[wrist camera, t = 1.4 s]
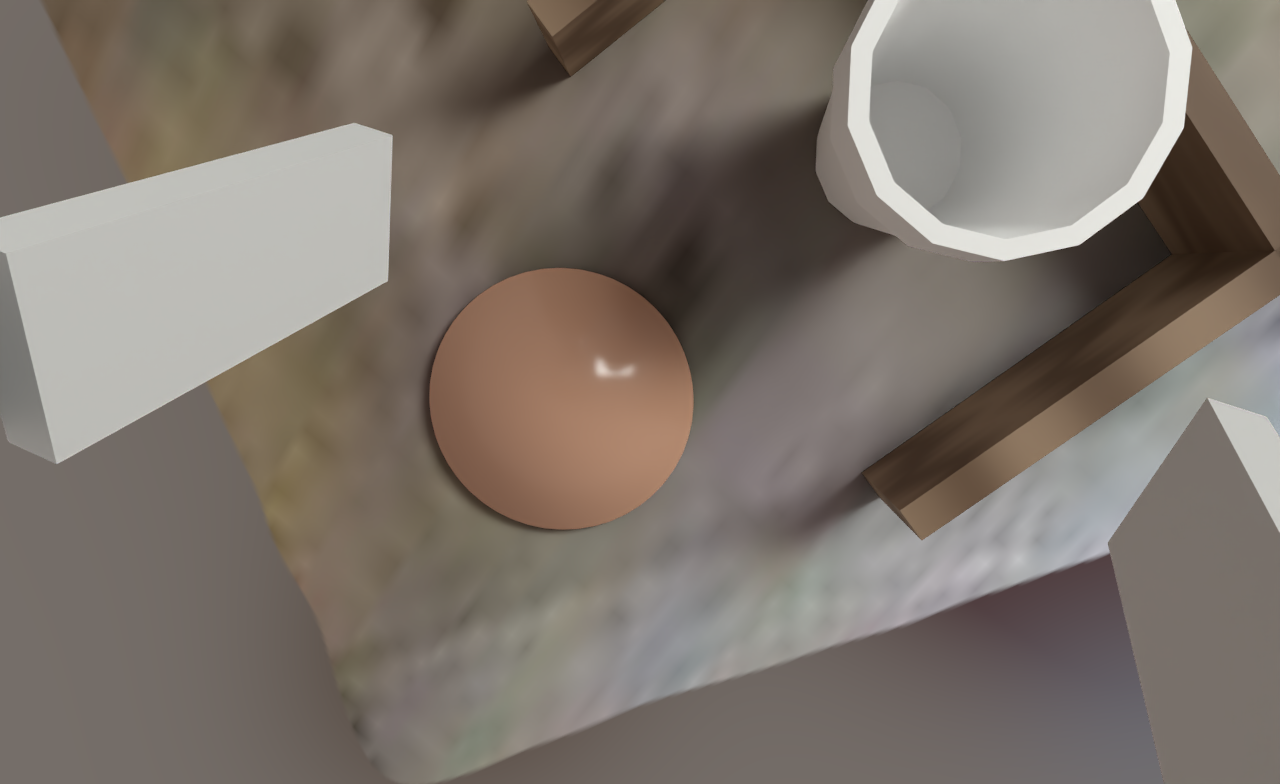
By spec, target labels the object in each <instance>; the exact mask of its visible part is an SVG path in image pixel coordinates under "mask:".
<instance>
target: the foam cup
mask: <svg viewBox="0 0 1280 784" xmlns="http://www.w3.org/2000/svg"><path fill="white" fill-rule="evenodd" d="M1191 56H1192V45H1191V42H1190V40H1189V37H1188V34H1187V31H1186V29H1185V26H1184V23H1183V20H1182V17H1181V15H1180V12H1179V9H1178V6H1177V3H1176V1H1175V0H868V1H867V3H866V5H865V6H864V8H863V10H862V12H861V14H860V16H859V18H858V20H857V22H856V24H855V26H854V28H853V30H852V32H851V34H850V36H849V38H848V40H847V42H846V44H845V46H844V48H843V50H842V52H841V54H840V56H839V58H838V60H837V62H836V64H835V66H834V67H833V89H832V94H831V97H830V100H829V103H828V106H827V109H826V112H825V114H824V117H823V120H822V123H821V126H820V129H819V132H818V137H817V148H816V174H817V176H818V178H819V181H820V183H821V186H822V188H823V190H824V193H825V195H826V197H827V200H828V202H830V203H831V204H832V205H833V206H834V207H835V208H837V209H838V210H839V211H840V212H841V213H843V214H844V215H845V216H846V217H847V218H848V219H850V220H851V221H852V222H854V223H856V224H859V225H863V226H866V227H869V228H872V229H875V230H879V231H882V232H885V233H888V234H892V235H895V236H896V237H898V238H899V239H900V240H901V241H902V242H903V243H905V244H906V245H907V246H909V247H913V248H917V249H921V250H925V251H929V252H933V253H937V254H942V255H946V256H950V257H954V258H958V259H962V260H966V261H970V262H992V261H1007V260H1012V259H1016V258H1021V257H1026V256H1030V255H1035V254H1040V253H1044V252H1049V251H1054V250H1059V249H1063V248H1068V247H1073V246H1077V245H1080V244H1081V243H1083V242H1084V241H1085V240H1087V239H1088V238H1090V237H1091V236H1092V235H1094V234H1095V233H1096V232H1098V231H1099V230H1100V229H1102V228H1103V227H1104V226H1106V225H1107V224H1109V223H1110V222H1111V221H1113V220H1114V219H1115V218H1117V217H1118V216H1119V215H1121V214H1122V213H1124V212H1125V211H1126V210H1128V209H1129V208H1130V207H1132V206H1133V205H1134V204H1136V203H1137V202H1138V201H1140V200H1141V199H1143V197H1144V196H1145V194H1146V192H1147V191H1148V189H1149V187H1150V185H1151V184H1152V182H1153V180H1154V179H1155V177H1156V175H1157V173H1158V172H1159V170H1160V168H1161V166H1162V165H1163V163H1164V161H1165V160H1166V158H1167V156H1168V154H1169V153H1170V151H1171V149H1172V147H1173V146H1174V144H1175V142H1176V141H1177V139H1178V137H1179V135H1180V134H1181V132H1182V130H1183V129H1184V122H1185V112H1186V103H1187V94H1188V84H1189V75H1190V65H1191Z"/></svg>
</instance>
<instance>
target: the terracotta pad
mask: <svg viewBox="0 0 1280 784" xmlns="http://www.w3.org/2000/svg"><path fill="white" fill-rule="evenodd" d="M429 402H430V413H431V420H432V424H433V428H434V433H435V436H436V438H437V441H438V444H439V447H440V449H441V451H442V453H443V455H444V457H445V459H446V461H447V463H448V465H449V466H450V468H451V469H452V470H453V472H454V473H455V475H456V476H457V478H458V479H459V480H460V481H461V482H462V483H463V484H464V486H465V487H466V488H467V489H468V490H469V491H470V492H471V493H472V494H473V495H475V496H476V497H477V498H478V499H479V500H480V501H482V502H483V503H484V504H486V505H487V506H489V507H490V508H492V509H493V510H495V511H496V512H498V513H500V514H502V515H504V516H507V517H509V518H511V519H513V520H516V521H519V522H522V523H524V524H527V525H531V526H536V527H541V528H548V529H560V530H564V529H580V528H586V527H592V526H596V525H600V524H603V523H606V522H609V521H612V520H614V519H616V518H619V517H621V516H623V515H625V514H627V513H629V512H630V511H632V510H633V509H635V508H637V507H638V506H640V505H641V504H642V503H644V502H645V501H646V500H647V499H648V498H650V497H651V496H652V495H653V494H654V493H655V492H656V491H657V490H658V489H659V488H660V487H661V486H662V485H663V484H664V482H665V481H666V480H667V478H668V477H669V476H670V474H671V473H672V471H673V470H674V469H675V467H676V465H677V463H678V461H679V459H680V457H681V455H682V453H683V451H684V448H685V445H686V443H687V440H688V437H689V433H690V428H691V424H692V417H693V405H694V401H693V385H692V379H691V374H690V369H689V365H688V362H687V359H686V356H685V353H684V350H683V348H682V346H681V344H680V342H679V340H678V338H677V336H676V334H675V333H674V331H673V330H672V328H671V327H670V325H669V323H668V322H667V321H666V319H665V318H664V317H663V316H662V315H661V314H660V312H659V311H658V310H657V309H656V308H655V307H654V306H653V305H652V304H651V303H650V302H648V301H647V300H646V299H645V298H644V297H643V296H641V295H640V294H639V293H637V292H636V291H634V290H633V289H631V288H630V287H628V286H626V285H624V284H622V283H620V282H618V281H617V280H615V279H613V278H610V277H607V276H604V275H601V274H598V273H595V272H590V271H585V270H581V269H570V268H549V269H539V270H534V271H529V272H524V273H521V274H518V275H515V276H512V277H510V278H507V279H505V280H503V281H501V282H499V283H497V284H495V285H493V286H492V287H490V288H489V289H487V290H486V291H484V292H483V293H481V294H480V295H478V296H477V297H476V298H475V299H474V300H473V301H472V302H470V303H469V304H468V305H467V306H466V307H465V308H464V309H463V310H462V312H461V313H460V314H459V315H458V316H457V318H456V319H455V320H454V321H453V323H452V325H451V326H450V328H449V329H448V331H447V332H446V334H445V336H444V338H443V340H442V342H441V344H440V347H439V349H438V351H437V354H436V358H435V361H434V364H433V368H432V374H431V380H430V395H429Z"/></svg>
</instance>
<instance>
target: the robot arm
mask: <svg viewBox="0 0 1280 784" xmlns="http://www.w3.org/2000/svg"><path fill="white" fill-rule="evenodd" d="M392 138H393V135H390V134H387V133H384V132H381V131H378V130H375V129H372V128H369V127H366V126H362V125H359V124H356V123H352V124H348V125H345V126H341V127H337V128H333V129H330V130H326V131H322V132H318V133H315V134H311V135H307V136H303V137H300V138H296V139H292V140H288V141H285V142H281V143H277V144H274V145H270V146H266V147H262V148H259V149H255V150H251V151H247V152H244V153H240V154H236V155H232V156H229V157H225V158H221V159H217V160H214V161H210V162H206V163H202V164H199V165H195V166H191V167H188V168H184V169H180V170H176V171H173V172H169V173H165V174H161V175H158V176H154V177H150V178H146V179H143V180H139V181H135V182H131V183H128V184H124V185H120V186H117V187H113V188H109V189H105V190H102V191H98V192H94V193H90V194H87V195H83V196H79V197H75V198H72V199H68V200H64V201H61V202H57V203H53V204H49V205H45V206H42V207H38V208H35V209H31V210H27V211H23V212H20V213H16V214H12V215H8V216H4V217H0V415H1V418H2V422H3V426H4V429H5V433H6V436H7V440H8V442H10V443H12V444H14V445H16V446H18V447H20V448H23V449H25V450H27V451H29V452H31V453H34V454H36V455H38V456H40V457H42V458H45V459H47V460H49V461H51V462H53V463H55V464H58V463H60V462H62V461H63V460H65V459H67V458H69V457H71V456H72V455H74V454H76V453H78V452H80V451H81V450H83V449H85V448H87V447H89V446H90V445H92V444H94V443H96V442H98V441H99V440H101V439H103V438H105V437H107V436H108V435H110V434H112V433H114V432H116V431H117V430H119V429H121V428H123V427H125V426H127V425H128V424H130V423H132V422H134V421H136V420H137V419H139V418H141V417H143V416H145V415H146V414H148V413H150V412H152V411H154V410H155V409H157V408H159V407H161V406H163V405H164V404H166V403H168V402H170V401H172V400H173V399H175V398H177V397H179V396H181V395H183V394H184V393H186V392H188V391H190V390H192V389H193V388H195V387H197V386H199V385H201V384H203V383H204V382H206V381H208V380H210V379H212V378H213V377H215V376H217V375H219V374H221V373H222V372H224V371H226V370H228V369H230V368H231V367H233V366H235V365H237V364H239V363H240V362H242V361H244V360H246V359H248V358H249V357H251V356H253V355H255V354H257V353H259V352H260V351H262V350H264V349H266V348H268V347H269V346H271V345H273V344H275V343H277V342H278V341H280V340H282V339H284V338H286V337H287V336H289V335H291V334H293V333H295V332H296V331H298V330H300V329H302V328H304V327H306V326H307V325H309V324H311V323H313V322H315V321H316V320H318V319H320V318H322V317H324V316H325V315H327V314H329V313H331V312H333V311H334V310H336V309H338V308H340V307H342V306H343V305H345V304H347V303H349V302H351V301H352V300H354V299H356V298H358V297H360V296H362V295H363V294H365V293H367V292H369V291H371V290H372V289H374V288H376V287H378V286H380V285H381V284H383V283H385V282H387V281H388V264H389V232H390V201H391V169H392ZM1108 546H1109V550H1110V554H1111V558H1112V563H1113V567H1114V572H1115V576H1116V580H1117V584H1118V588H1119V593H1120V597H1121V602H1122V606H1123V610H1124V614H1125V619H1126V623H1127V627H1128V632H1129V636H1130V640H1131V644H1132V649H1133V653H1134V657H1135V662H1136V666H1137V670H1138V675H1139V678H1140V683H1141V687H1142V692H1143V696H1144V700H1145V705H1146V709H1147V713H1148V717H1149V722H1150V726H1151V730H1152V735H1153V739H1154V743H1155V748H1156V752H1157V756H1158V760H1159V765H1160V769H1161V773H1162V778H1163V782H1164V784H1280V437H1279V435H1278V434H1277V432H1276V431H1275V429H1274V428H1273V426H1272V424H1271V423H1270V421H1269V420H1268V418H1267V417H1266V416H1263V415H1260V414H1256V413H1253V412H1250V411H1247V410H1244V409H1241V408H1238V407H1235V406H1232V405H1228V404H1225V403H1222V402H1219V401H1216V400H1213V399H1210V398H1207V399H1206V400H1205V402H1204V403H1203V405H1202V406H1201V408H1200V409H1199V410H1198V412H1197V413H1196V415H1195V416H1194V418H1193V419H1192V421H1191V422H1190V424H1189V425H1188V426H1187V428H1186V429H1185V431H1184V432H1183V434H1182V435H1181V437H1180V438H1179V440H1178V441H1177V443H1176V444H1175V445H1174V447H1173V448H1172V450H1171V451H1170V453H1169V454H1168V456H1167V457H1166V459H1165V460H1164V462H1163V463H1162V464H1161V466H1160V467H1159V469H1158V470H1157V472H1156V473H1155V475H1154V476H1153V478H1152V479H1151V480H1150V482H1149V483H1148V485H1147V486H1146V488H1145V489H1144V491H1143V492H1142V494H1141V495H1140V497H1139V498H1138V499H1137V501H1136V502H1135V504H1134V505H1133V507H1132V508H1131V510H1130V511H1129V513H1128V514H1127V516H1126V517H1125V518H1124V520H1123V521H1122V523H1121V524H1120V526H1119V527H1118V529H1117V530H1116V532H1115V533H1114V535H1113V536H1112V537H1111V539H1110V540H1109V542H1108Z"/></svg>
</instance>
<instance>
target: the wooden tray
mask: <svg viewBox="0 0 1280 784" xmlns="http://www.w3.org/2000/svg"><path fill="white" fill-rule="evenodd" d="M664 1H665V0H528V1H527V3H528V5H529V7H530V9H531V11H532V13H533V15H534V17H535V19H536V22H537V24H538V26H539V28H540V30H541V32H542V34H543V36H544V38H545V40H546V42H547V44H548V46H549V48H550V49H551V51H552V52H553V53H554V55H555V56H556V57H557V59H558V60H559V62H560V63H561V64H562V66H563V67H564V68H565V70H566V71H567V72H568V74H569V75H570V77H571V76H572V75H573V74H575V73H576V72H577V71H578V70H580V69H581V68H582V67H583V66H585V65H586V64H587V63H588V62H590V61H591V60H592V59H593V58H595V57H596V56H597V55H598V54H600V53H601V52H602V51H603V50H605V49H606V48H607V47H608V46H609V45H611V44H612V43H613V42H614V41H616V40H617V39H618V38H619V37H621V36H622V35H623V34H624V33H626V32H627V31H628V30H629V29H631V28H632V27H633V26H634V25H636V24H637V23H638V22H639V21H641V20H642V19H643V18H644V17H645V16H647V15H648V14H649V13H650V12H652V11H653V10H654V9H655V8H657V7H658V6H659V5H660V4H662V3H663V2H664ZM1185 29H1186V27H1185ZM1186 31H1187V29H1186ZM1187 34H1188V37H1189V40H1190V42H1191V45H1192V56H1191V65H1190V75H1189V84H1188V94H1187V103H1186V112H1185V122H1184V129H1183V130H1182V132H1181V134H1180V135H1179V137H1178V139H1177V141H1176V142H1175V144H1174V146H1173V147H1172V149H1171V151H1170V153H1169V154H1168V156H1167V158H1166V160H1165V161H1164V163H1163V165H1162V166H1161V168H1160V170H1159V172H1158V173H1157V175H1156V177H1155V179H1154V180H1153V182H1152V184H1151V185H1150V187H1149V189H1148V191H1147V192H1146V194H1145V196H1144V197H1143V199H1141V200H1140V201H1138V204H1139V205H1140V207H1141V208H1142V210H1143V211H1144V213H1145V214H1146V216H1147V217H1148V219H1149V220H1150V222H1151V223H1152V225H1153V226H1154V228H1155V229H1156V231H1157V232H1158V234H1159V235H1160V237H1161V238H1162V240H1163V241H1164V243H1165V245H1166V246H1167V248H1168V249H1169V251H1170V252H1171V254H1172V255H1170V256H1169V257H1167V258H1166V259H1165V260H1163V261H1162V262H1160V263H1159V264H1158V265H1156V266H1155V267H1153V268H1152V269H1150V270H1149V271H1148V272H1146V273H1145V274H1143V275H1142V276H1140V277H1139V278H1138V279H1136V280H1135V281H1133V282H1132V283H1131V284H1129V285H1128V286H1126V287H1125V288H1123V289H1122V290H1121V291H1119V292H1118V293H1116V294H1115V295H1113V296H1112V297H1111V298H1109V299H1108V300H1106V301H1105V302H1104V303H1102V304H1101V305H1099V306H1098V307H1096V308H1095V309H1094V310H1092V311H1091V312H1089V313H1088V314H1086V315H1085V316H1084V317H1082V318H1081V319H1079V320H1078V321H1077V322H1075V323H1074V324H1072V325H1071V326H1069V327H1068V328H1067V329H1065V330H1064V331H1062V332H1061V333H1059V334H1058V335H1057V336H1055V337H1054V338H1052V339H1051V340H1050V341H1048V342H1047V343H1045V344H1044V345H1042V346H1041V347H1040V348H1038V349H1037V350H1035V351H1034V352H1032V353H1031V354H1030V355H1028V356H1027V357H1025V358H1024V359H1023V360H1021V361H1020V362H1018V363H1017V364H1015V365H1014V366H1013V367H1011V368H1010V369H1008V370H1007V371H1005V372H1004V373H1003V374H1001V375H1000V376H998V377H997V378H996V379H994V380H993V381H991V382H990V383H988V384H987V385H986V386H984V387H983V388H981V389H980V390H978V391H977V392H976V393H974V394H973V395H971V396H970V397H969V398H967V399H966V400H964V401H963V402H961V403H960V404H959V405H957V406H956V407H954V408H953V409H951V410H950V411H949V412H947V413H946V414H944V415H943V416H942V417H940V418H939V419H937V420H936V421H934V422H933V423H932V424H930V425H929V426H927V427H926V428H924V429H923V430H922V431H920V432H919V433H917V434H916V435H915V436H913V437H912V438H910V439H909V440H907V441H906V442H905V443H903V444H902V445H900V446H899V447H897V448H896V449H895V450H893V451H892V452H890V453H889V454H888V455H886V456H885V457H883V458H882V459H880V460H879V461H878V462H876V463H875V464H873V465H872V466H870V467H869V468H868V469H866V470H865V471H863V472H862V474H863V475H864V477H865V478H866V479H867V481H868V482H869V483H870V485H871V486H872V487H873V489H874V490H875V492H876V493H877V494H878V496H879V497H880V498H881V499H882V500H883V501H884V502H885V503H886V504H887V505H888V506H889V507H890V508H891V510H892V511H893V512H894V513H895V514H896V515H897V516H898V517H899V518H900V519H901V520H902V521H903V522H904V523H905V524H906V525H907V526H908V527H909V528H910V529H911V530H912V531H913V532H914V533H915V534H916V535H917V536H918V537H919V538H920V539H921V540H923V539H925V538H926V537H928V536H929V535H931V534H932V533H933V532H935V531H936V530H938V529H939V528H941V527H942V526H944V525H945V524H947V523H948V522H950V521H951V520H952V519H954V518H955V517H957V516H958V515H960V514H961V513H963V512H964V511H966V510H967V509H968V508H970V507H971V506H973V505H974V504H976V503H977V502H979V501H980V500H982V499H983V498H984V497H986V496H987V495H989V494H990V493H992V492H993V491H995V490H996V489H998V488H999V487H1001V486H1002V485H1003V484H1005V483H1006V482H1008V481H1009V480H1011V479H1012V478H1014V477H1015V476H1017V475H1018V474H1019V473H1021V472H1022V471H1024V470H1025V469H1027V468H1028V467H1030V466H1031V465H1033V464H1034V463H1035V462H1037V461H1038V460H1040V459H1041V458H1043V457H1044V456H1046V455H1047V454H1049V453H1050V452H1052V451H1053V450H1054V449H1056V448H1057V447H1059V446H1060V445H1062V444H1063V443H1065V442H1066V441H1068V440H1069V439H1070V438H1072V437H1073V436H1075V435H1076V434H1078V433H1079V432H1081V431H1082V430H1084V429H1085V428H1087V427H1088V426H1089V425H1091V424H1092V423H1094V422H1095V421H1097V420H1098V419H1100V418H1101V417H1103V416H1104V415H1105V414H1107V413H1108V412H1110V411H1111V410H1113V409H1114V408H1116V407H1117V406H1119V405H1120V404H1121V403H1123V402H1124V401H1126V400H1127V399H1129V398H1130V397H1132V396H1133V395H1135V394H1136V393H1138V392H1139V391H1140V390H1142V389H1143V388H1145V387H1146V386H1148V385H1149V384H1151V383H1152V382H1154V381H1155V380H1156V379H1158V378H1159V377H1161V376H1162V375H1164V374H1165V373H1167V372H1168V371H1170V370H1171V369H1173V368H1174V367H1175V366H1177V365H1178V364H1180V363H1181V362H1183V361H1184V360H1186V359H1187V358H1189V357H1190V356H1191V355H1193V354H1194V353H1196V352H1197V351H1199V350H1200V349H1202V348H1203V347H1205V346H1206V345H1207V344H1209V343H1210V342H1212V341H1213V340H1215V339H1216V338H1218V337H1219V336H1221V335H1222V334H1224V333H1225V332H1226V331H1228V330H1229V329H1231V328H1232V327H1234V326H1235V325H1237V324H1238V323H1240V322H1241V321H1242V320H1244V319H1245V318H1247V317H1248V316H1250V315H1251V314H1253V313H1254V312H1256V311H1257V310H1259V309H1260V308H1261V307H1263V306H1264V305H1266V304H1267V303H1269V302H1270V301H1272V300H1273V299H1275V298H1276V297H1277V296H1279V295H1280V175H1279V174H1278V172H1277V170H1276V169H1275V167H1274V166H1273V164H1272V163H1271V161H1270V159H1269V158H1268V156H1267V155H1266V153H1265V152H1264V150H1263V148H1262V147H1261V145H1260V144H1259V142H1258V141H1257V139H1256V137H1255V136H1254V134H1253V133H1252V131H1251V130H1250V128H1249V126H1248V125H1247V123H1246V122H1245V120H1244V119H1243V117H1242V115H1241V114H1240V112H1239V111H1238V109H1237V108H1236V106H1235V104H1234V103H1233V101H1232V100H1231V98H1230V97H1229V95H1228V93H1227V92H1226V90H1225V89H1224V87H1223V86H1222V84H1221V82H1220V81H1219V79H1218V78H1217V76H1216V75H1215V73H1214V71H1213V70H1212V68H1211V67H1210V65H1209V64H1208V62H1207V60H1206V59H1205V57H1204V56H1203V54H1202V53H1201V51H1200V49H1199V48H1198V46H1197V45H1196V43H1195V42H1194V40H1193V38H1192V37H1191V35H1190V34H1189V32H1188V31H1187Z"/></svg>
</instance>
